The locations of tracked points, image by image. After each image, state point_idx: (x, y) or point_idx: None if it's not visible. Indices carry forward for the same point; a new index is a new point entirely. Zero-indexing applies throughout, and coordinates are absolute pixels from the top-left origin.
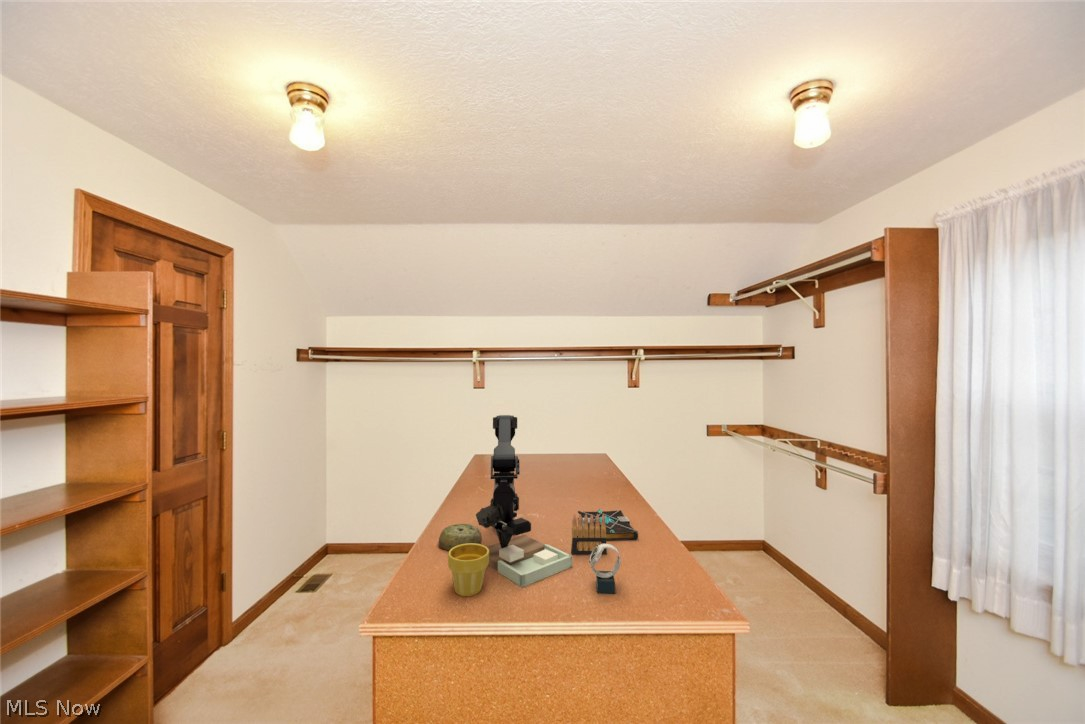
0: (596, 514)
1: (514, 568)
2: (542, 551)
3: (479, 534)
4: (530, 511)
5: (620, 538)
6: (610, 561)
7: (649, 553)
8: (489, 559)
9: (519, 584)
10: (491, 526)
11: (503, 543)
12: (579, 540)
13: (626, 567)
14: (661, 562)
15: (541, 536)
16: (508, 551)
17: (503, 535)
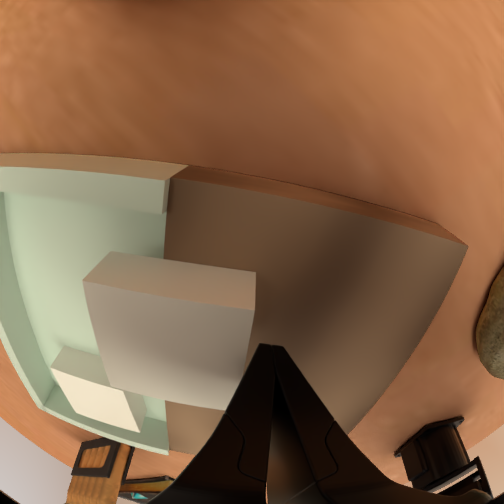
0: None
1: (10, 190)
2: (127, 417)
3: (497, 363)
4: (395, 479)
5: (130, 482)
6: (50, 421)
7: (59, 450)
8: (306, 198)
9: (6, 154)
10: (454, 501)
11: (239, 384)
12: (99, 470)
13: (20, 406)
14: (25, 428)
15: None
16: (152, 327)
17: (197, 467)
